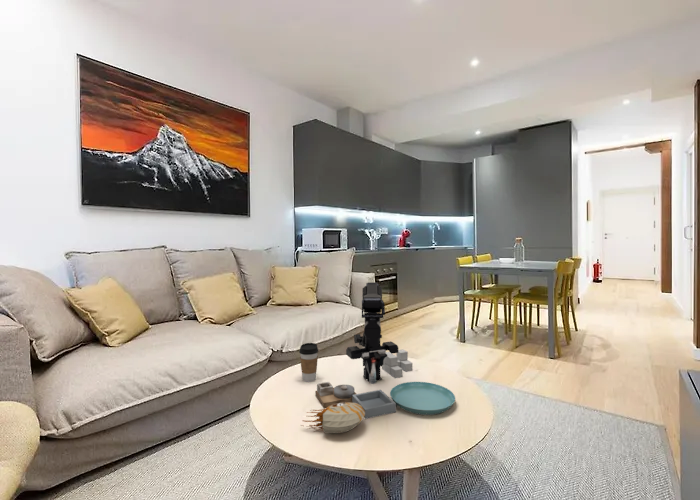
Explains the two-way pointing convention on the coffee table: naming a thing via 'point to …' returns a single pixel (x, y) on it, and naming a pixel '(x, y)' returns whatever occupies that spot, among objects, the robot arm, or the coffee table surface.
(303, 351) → the coffee cup
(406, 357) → the puzzle cube
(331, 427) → the nautilus
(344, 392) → the pulley block
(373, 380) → the lock pin
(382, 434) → the coffee table surface
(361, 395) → the tray
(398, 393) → the teal round plate
